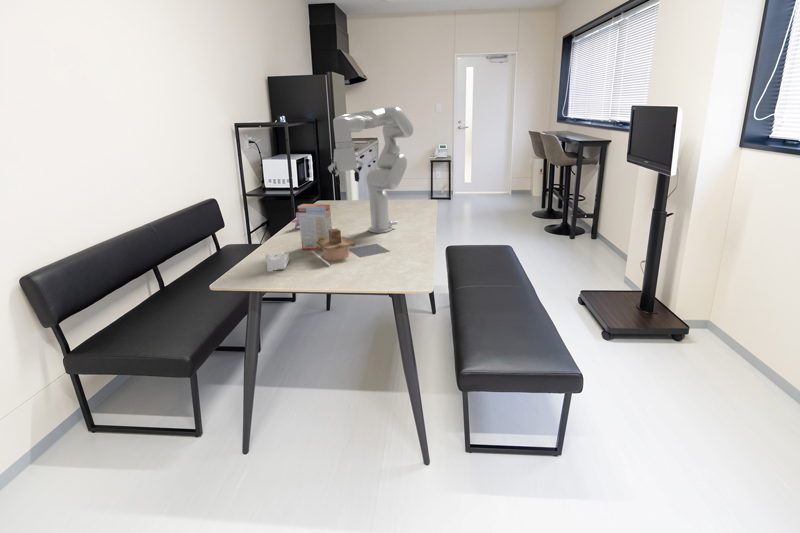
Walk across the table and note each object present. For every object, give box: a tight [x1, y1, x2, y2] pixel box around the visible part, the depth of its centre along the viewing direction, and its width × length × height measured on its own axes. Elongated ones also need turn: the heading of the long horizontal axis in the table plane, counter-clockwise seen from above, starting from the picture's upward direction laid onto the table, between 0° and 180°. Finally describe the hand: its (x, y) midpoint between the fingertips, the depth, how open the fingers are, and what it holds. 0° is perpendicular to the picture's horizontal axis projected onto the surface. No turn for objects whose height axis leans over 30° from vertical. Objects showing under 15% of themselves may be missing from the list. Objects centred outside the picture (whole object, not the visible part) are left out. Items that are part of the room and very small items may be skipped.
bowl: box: [322, 247, 350, 261], centre depth 205 cm, size 11×11×6 cm
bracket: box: [265, 251, 290, 272], centre depth 197 cm, size 13×7×8 cm, turn 5°
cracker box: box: [297, 203, 333, 251], centre depth 217 cm, size 14×6×21 cm, turn 71°
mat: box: [349, 243, 391, 258], centre depth 213 cm, size 15×15×1 cm
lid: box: [316, 228, 356, 251], centre depth 203 cm, size 13×13×6 cm
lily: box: [290, 211, 300, 229], centre depth 256 cm, size 12×12×10 cm
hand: (347, 182), depth 219 cm, fingers open, 9 cm apart
